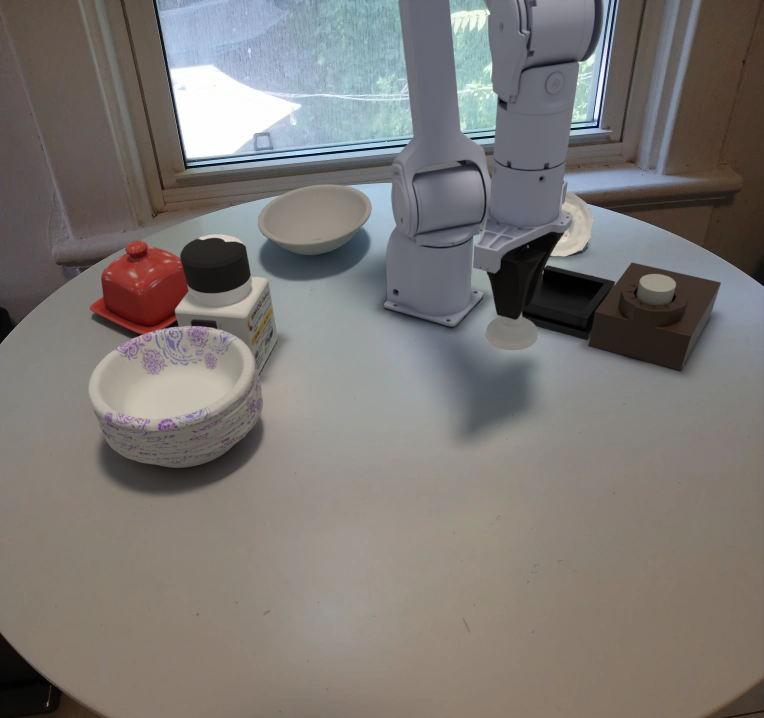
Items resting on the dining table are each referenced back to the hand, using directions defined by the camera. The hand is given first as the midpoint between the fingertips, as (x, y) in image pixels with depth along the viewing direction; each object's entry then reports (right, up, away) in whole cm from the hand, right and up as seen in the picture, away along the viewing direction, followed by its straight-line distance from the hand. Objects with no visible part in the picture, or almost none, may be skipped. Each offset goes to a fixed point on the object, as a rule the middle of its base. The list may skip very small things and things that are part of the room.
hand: (513, 309), depth 68 cm
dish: (-21, +16, +31) cm, 40 cm away
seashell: (+11, +16, +29) cm, 35 cm away
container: (-29, -1, +14) cm, 32 cm away
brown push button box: (+18, +2, +14) cm, 23 cm away
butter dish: (-40, +6, +21) cm, 46 cm away
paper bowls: (-31, -11, +5) cm, 33 cm away
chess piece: (0, -2, +2) cm, 3 cm away
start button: (+16, +4, +8) cm, 18 cm away
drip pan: (+9, +5, +18) cm, 21 cm away
